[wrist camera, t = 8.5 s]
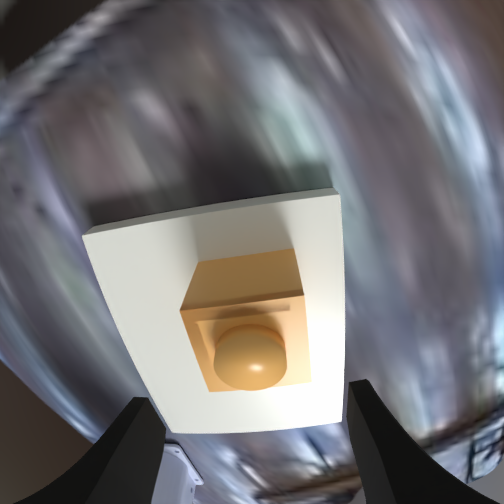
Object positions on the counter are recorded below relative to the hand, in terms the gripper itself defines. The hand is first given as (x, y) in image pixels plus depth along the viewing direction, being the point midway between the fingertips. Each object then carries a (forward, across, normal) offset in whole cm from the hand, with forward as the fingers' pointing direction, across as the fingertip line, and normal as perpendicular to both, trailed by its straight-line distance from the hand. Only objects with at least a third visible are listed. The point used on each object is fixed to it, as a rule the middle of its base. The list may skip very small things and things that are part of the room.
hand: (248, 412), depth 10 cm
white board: (+9, +2, +4) cm, 10 cm away
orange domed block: (+8, 0, 0) cm, 8 cm away
